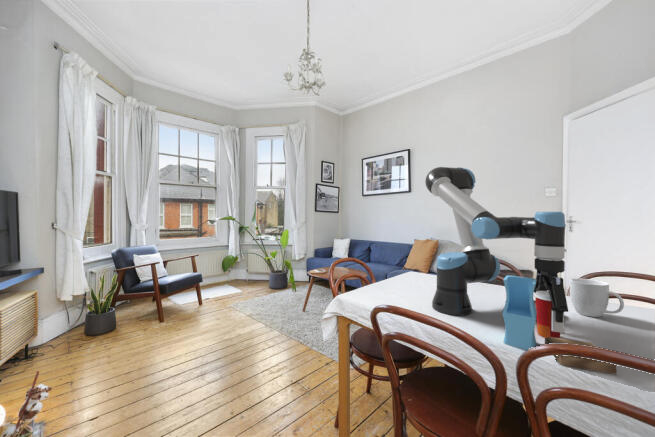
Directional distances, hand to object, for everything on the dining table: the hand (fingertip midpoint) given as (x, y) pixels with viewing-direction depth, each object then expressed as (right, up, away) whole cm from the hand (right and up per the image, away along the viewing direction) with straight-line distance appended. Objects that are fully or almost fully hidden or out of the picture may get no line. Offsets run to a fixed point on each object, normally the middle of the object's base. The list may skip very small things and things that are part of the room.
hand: (548, 323), depth 86 cm
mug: (+32, -4, +17) cm, 37 cm away
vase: (-13, -5, -4) cm, 14 cm away
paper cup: (0, -5, 0) cm, 4 cm away
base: (-3, -5, -13) cm, 14 cm away
